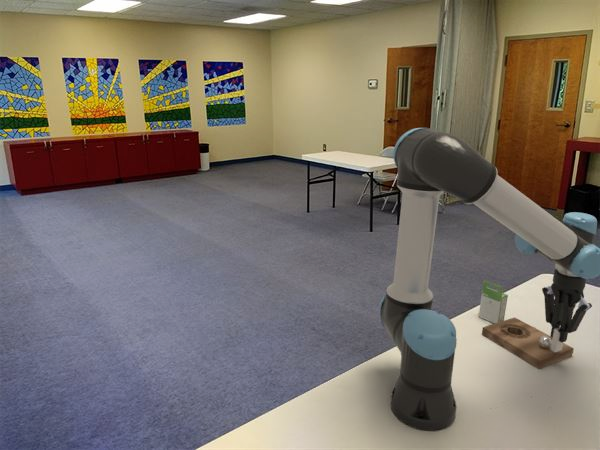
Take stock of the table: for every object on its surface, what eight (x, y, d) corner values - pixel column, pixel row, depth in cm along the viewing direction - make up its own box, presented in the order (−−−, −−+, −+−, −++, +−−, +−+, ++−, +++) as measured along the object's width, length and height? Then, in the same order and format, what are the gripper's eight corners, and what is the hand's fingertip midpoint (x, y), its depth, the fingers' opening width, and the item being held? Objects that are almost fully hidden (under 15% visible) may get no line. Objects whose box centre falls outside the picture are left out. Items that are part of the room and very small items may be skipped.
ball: (545, 351, 130) (547, 341, 129) (535, 345, 133) (536, 335, 132) (553, 348, 131) (555, 338, 130) (543, 343, 134) (545, 332, 133)
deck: (572, 355, 132) (573, 348, 131) (538, 368, 126) (540, 360, 126) (513, 324, 149) (514, 317, 149) (481, 334, 143) (482, 327, 143)
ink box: (504, 321, 151) (509, 284, 147) (497, 325, 149) (502, 287, 145) (485, 313, 156) (489, 277, 152) (478, 317, 154) (482, 280, 150)
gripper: (604, 277, 117) (587, 358, 125) (557, 260, 129) (544, 335, 136) (585, 283, 114) (569, 365, 121) (539, 265, 126) (526, 341, 133)
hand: (556, 349), depth 129 cm, fingers closed
